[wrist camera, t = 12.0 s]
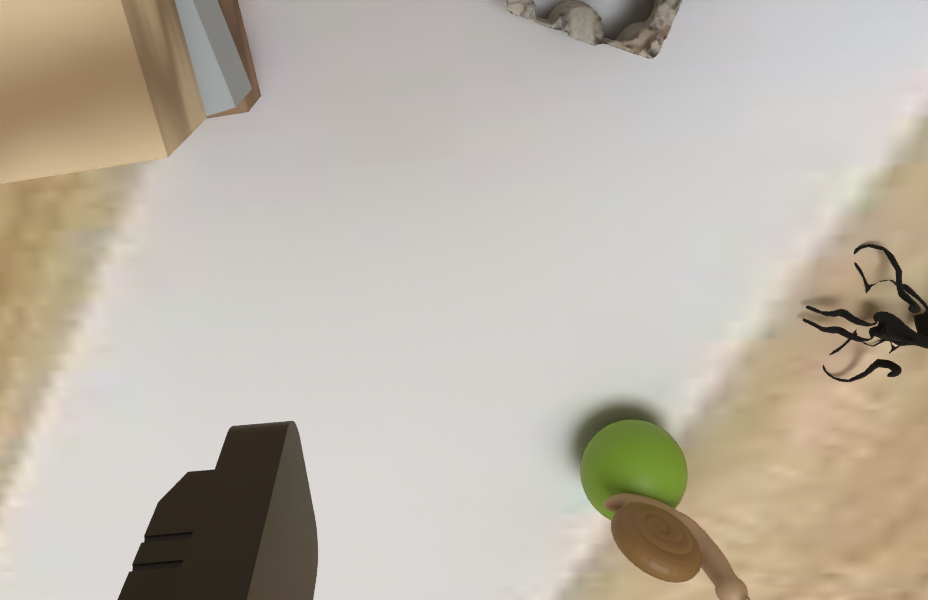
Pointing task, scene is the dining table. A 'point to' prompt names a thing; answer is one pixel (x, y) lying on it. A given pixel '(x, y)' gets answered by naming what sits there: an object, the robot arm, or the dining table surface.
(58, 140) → the oak cube
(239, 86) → the tower top
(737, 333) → the dining table surface
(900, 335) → the creature
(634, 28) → the grey stone ruin model
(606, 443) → the snail figurine
